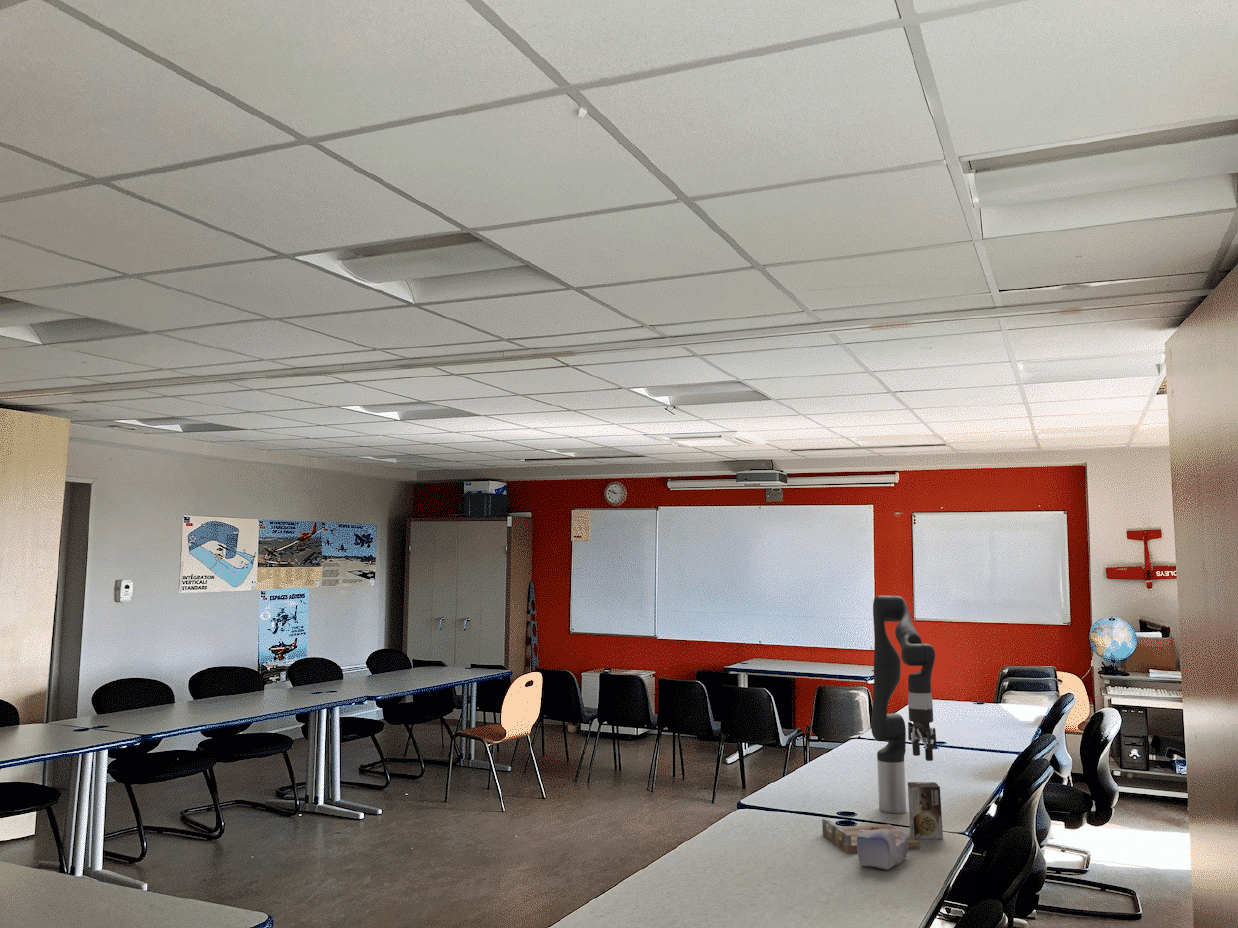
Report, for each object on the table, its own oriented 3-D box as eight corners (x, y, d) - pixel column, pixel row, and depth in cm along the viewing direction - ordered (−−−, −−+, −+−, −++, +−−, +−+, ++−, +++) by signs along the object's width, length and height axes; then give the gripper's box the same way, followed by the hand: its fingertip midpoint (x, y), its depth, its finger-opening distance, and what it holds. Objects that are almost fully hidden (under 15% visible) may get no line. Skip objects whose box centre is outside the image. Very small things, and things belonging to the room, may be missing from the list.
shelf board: (821, 834, 299) (821, 818, 299) (889, 830, 302) (889, 814, 303) (846, 852, 279) (846, 835, 280) (919, 848, 283) (918, 831, 283)
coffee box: (938, 833, 299) (936, 781, 301) (943, 839, 292) (941, 786, 294) (909, 833, 300) (907, 781, 301) (913, 838, 293) (911, 785, 295)
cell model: (852, 829, 265) (865, 814, 283) (853, 869, 264) (866, 851, 282) (899, 834, 260) (909, 818, 278) (900, 874, 258) (911, 856, 276)
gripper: (899, 703, 307) (901, 754, 305) (920, 709, 293) (922, 762, 291) (920, 703, 308) (923, 753, 306) (942, 709, 294) (944, 761, 292)
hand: (922, 757), depth 299 cm, fingers open, 8 cm apart
